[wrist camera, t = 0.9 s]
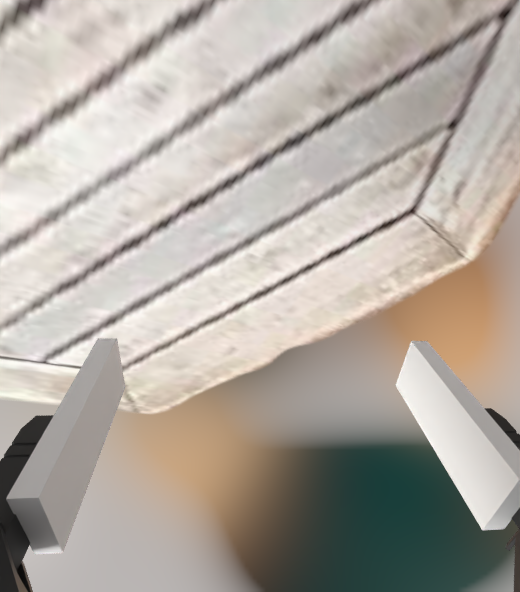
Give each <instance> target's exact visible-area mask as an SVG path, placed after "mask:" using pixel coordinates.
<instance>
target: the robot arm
mask: <svg viewBox="0 0 520 592" xmlns="http://www.w3.org/2000/svg"><path fill="white" fill-rule="evenodd" d="M396 387H397V388H398V390H399V392H400V393H401V395H402V397H403V398H404V400H405V402H406V403H407V405H408V407H409V408H410V410H411V412H412V413H413V415H414V417H415V418H416V420H417V422H418V423H419V425H420V427H421V428H422V430H423V432H424V433H425V435H426V437H427V438H428V440H429V442H430V443H431V445H432V447H433V448H434V450H435V452H436V453H437V455H438V457H439V458H440V460H441V462H442V463H443V465H444V467H445V468H446V470H447V472H448V473H449V475H450V477H451V478H452V480H453V482H454V483H455V485H456V486H457V488H458V490H459V492H460V493H461V495H462V497H463V498H464V500H465V502H466V503H467V505H468V507H469V508H470V510H471V512H472V513H473V515H474V517H475V518H476V520H477V522H478V523H479V525H480V527H481V529H482V530H497V529H504V528H505V527H506V526H507V525H508V523H509V522H510V521H511V519H513V520H514V522H515V523H516V525H517V526H518V528H519V529H518V531H517V532H516V533H515V534H514V535H513V537H512V538H511V539H510V540H509V542H508V543H507V545H506V549H507V550H510V549H511V548H512V547H513V546H514V545H515V568H514V592H520V435H519V434H517V433H516V430H515V429H514V428H513V427H512V426H511V425H510V423H509V422H508V421H507V420H506V419H505V418H503V417H502V416H501V415H499V414H498V413H497V412H495V411H494V410H493V409H491V408H490V409H484V408H483V407H482V405H481V404H480V403H479V402H478V401H477V400H476V398H475V397H474V396H473V395H472V394H471V392H470V391H469V390H468V389H467V388H466V386H465V385H464V384H463V383H462V382H461V381H460V379H459V378H458V377H457V376H456V375H455V374H454V373H453V371H452V370H451V369H450V368H449V367H448V366H447V364H446V363H445V362H444V361H443V360H442V358H441V357H440V356H439V355H438V354H437V352H436V351H435V350H434V349H433V348H432V346H431V345H430V344H429V343H428V342H427V341H411V344H410V346H409V349H408V352H407V355H406V358H405V360H404V363H403V366H402V369H401V372H400V375H399V377H398V380H397V383H396ZM124 389H125V383H124V377H123V371H122V365H121V359H120V354H119V348H118V342H117V339H98V340H97V341H96V343H95V345H94V346H93V348H92V350H91V352H90V353H89V355H88V357H87V359H86V360H85V362H84V364H83V366H82V367H81V369H80V371H79V373H78V374H77V376H76V378H75V380H74V381H73V383H72V385H71V386H70V388H69V390H68V392H67V393H66V395H65V397H64V399H63V400H62V402H61V404H60V406H59V407H58V409H57V411H56V413H55V414H54V415H53V416H35V417H34V418H33V419H32V420H31V421H30V422H29V423H27V424H26V425H25V426H24V427H23V428H22V429H21V430H20V432H19V433H18V435H17V436H16V438H15V439H14V441H13V442H12V446H10V447H9V449H8V450H7V451H6V453H5V454H4V458H2V459H1V461H0V592H33V591H32V587H31V584H30V581H29V578H28V575H27V572H26V569H25V566H24V563H23V561H22V560H23V558H24V556H25V553H26V551H27V549H28V547H29V545H30V546H31V548H32V550H33V552H34V554H51V553H63V551H64V548H65V546H66V543H67V540H68V538H69V534H70V532H71V530H72V527H73V524H74V522H75V519H76V516H77V514H78V511H79V508H80V506H81V503H82V500H83V498H84V495H85V493H86V490H87V487H88V484H89V482H90V479H91V477H92V474H93V471H94V468H95V466H96V463H97V461H98V458H99V455H100V453H101V450H102V447H103V445H104V442H105V439H106V437H107V434H108V431H109V429H110V426H111V423H112V421H113V418H114V416H115V413H116V410H117V408H118V405H119V402H120V400H121V397H122V394H123V392H124Z"/></svg>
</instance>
